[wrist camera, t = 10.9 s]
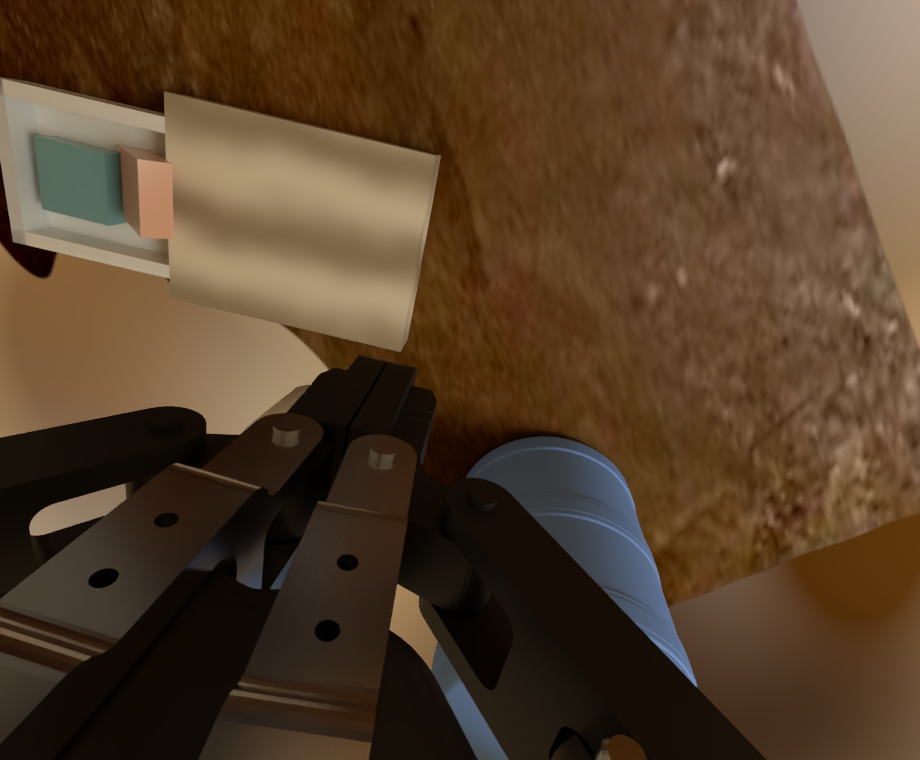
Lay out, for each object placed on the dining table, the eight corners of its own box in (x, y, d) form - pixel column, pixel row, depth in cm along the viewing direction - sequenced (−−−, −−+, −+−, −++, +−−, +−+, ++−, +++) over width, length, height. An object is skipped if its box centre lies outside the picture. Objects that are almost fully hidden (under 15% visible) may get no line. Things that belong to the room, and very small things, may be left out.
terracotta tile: (152, 150, 37) (119, 145, 35) (172, 163, 34) (137, 159, 32) (154, 220, 39) (123, 218, 38) (173, 239, 36) (140, 237, 34)
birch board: (190, 96, 36) (163, 91, 33) (441, 155, 36) (435, 155, 33) (192, 288, 41) (170, 297, 39) (407, 338, 42) (400, 351, 39)
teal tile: (104, 153, 35) (124, 153, 37) (33, 135, 35) (57, 136, 37) (108, 226, 37) (127, 222, 39) (42, 209, 37) (64, 206, 39)
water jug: (581, 401, 42) (686, 776, 17) (658, 534, 47) (829, 983, 22) (426, 475, 47) (324, 859, 21) (510, 590, 52) (509, 1015, 26)
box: (26, 80, 36) (-14, 75, 34) (190, 119, 36) (164, 117, 34) (46, 235, 41) (13, 241, 38) (192, 270, 41) (169, 278, 38)
